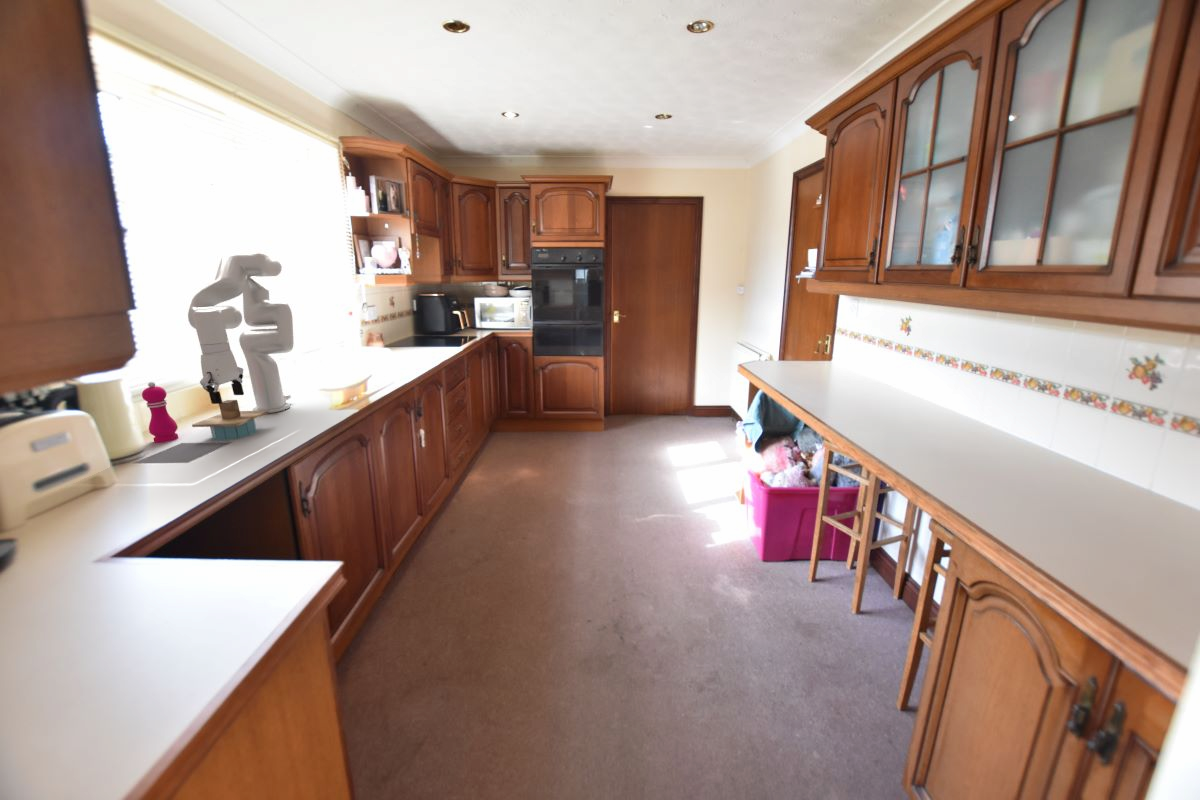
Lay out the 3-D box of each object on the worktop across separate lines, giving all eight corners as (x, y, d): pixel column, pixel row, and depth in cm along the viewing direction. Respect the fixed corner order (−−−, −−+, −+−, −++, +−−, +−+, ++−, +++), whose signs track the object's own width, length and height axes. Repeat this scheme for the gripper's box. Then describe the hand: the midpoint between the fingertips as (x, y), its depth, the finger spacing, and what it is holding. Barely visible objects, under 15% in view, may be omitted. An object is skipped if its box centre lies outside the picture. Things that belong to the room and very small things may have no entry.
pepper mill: (156, 446, 166) (139, 385, 161) (149, 442, 170) (133, 383, 165) (183, 439, 171) (168, 381, 166) (176, 436, 176) (161, 378, 170)
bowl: (232, 429, 180) (228, 414, 179) (264, 429, 180) (261, 414, 178) (204, 441, 169) (200, 425, 167) (239, 441, 168) (235, 425, 167)
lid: (227, 413, 181) (223, 396, 179) (268, 412, 180) (265, 395, 178) (192, 426, 166) (187, 408, 165) (236, 426, 165) (232, 407, 163)
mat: (182, 444, 167) (181, 442, 167) (232, 443, 166) (231, 442, 166) (133, 464, 150) (132, 463, 150) (188, 464, 149) (187, 462, 149)
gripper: (224, 343, 175) (236, 391, 180) (182, 354, 159) (196, 407, 164) (246, 343, 175) (257, 391, 180) (205, 353, 158) (219, 407, 163)
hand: (228, 399), depth 172 cm, fingers open, 9 cm apart
